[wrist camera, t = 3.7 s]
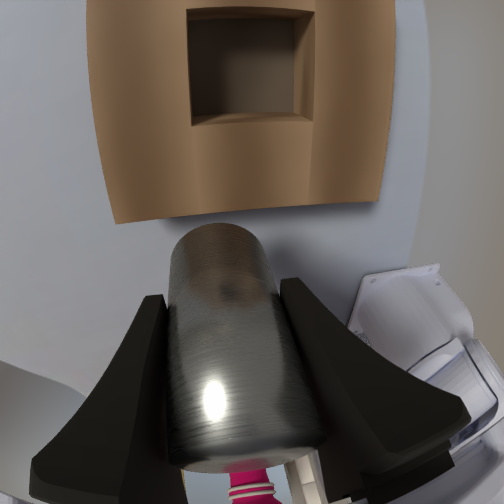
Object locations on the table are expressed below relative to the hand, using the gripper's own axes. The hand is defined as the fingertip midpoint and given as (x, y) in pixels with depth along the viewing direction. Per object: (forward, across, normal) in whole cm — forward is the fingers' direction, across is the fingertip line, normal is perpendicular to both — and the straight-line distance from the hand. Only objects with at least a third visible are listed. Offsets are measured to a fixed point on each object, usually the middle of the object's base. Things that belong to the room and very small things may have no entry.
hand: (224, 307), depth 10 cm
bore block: (+10, -2, -8) cm, 13 cm away
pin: (+3, 0, 0) cm, 3 cm away
